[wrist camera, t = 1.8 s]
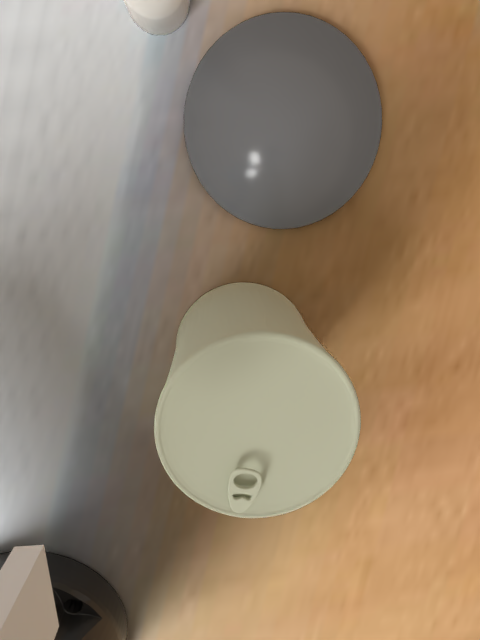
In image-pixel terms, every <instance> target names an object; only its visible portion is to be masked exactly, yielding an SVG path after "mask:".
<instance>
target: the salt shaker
mask: <svg viewBox="0 0 480 640" xmlns="http://www.w3.org/2000/svg"><path fill="white" fill-rule="evenodd" d="M123 1H124V3H125V5H126V7H127V10H128V12H129V14H130V16H131V18H132V19H133V21H134V22H135V23H136V24H137V26H139V27H140V28H141V29H142V30H144V31H145V32H147V33H150V34H153V35H167V34H170V33H172V32H174V31H176V30H177V29H178V28H179V27H180V26H181V25H182V24H183V22H184V21H185V19H186V17H187V14H188V11H189V5H190V0H123Z"/></svg>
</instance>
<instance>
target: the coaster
mask: <svg viewBox="0 0 480 640" xmlns="http://www.w3.org/2000/svg"><path fill="white" fill-rule="evenodd" d="M381 128H382V108H381V101H380V95H379V91H378V87H377V83H376V80H375V78H374V75H373V73H372V70H371V68H370V66H369V65H368V63H367V61H366V59H365V57H364V56H363V55H362V53H361V52H360V51H359V49H358V48H357V47H356V45H355V44H354V43H353V42H352V41H351V40H350V39H349V38H348V37H347V36H346V35H344V34H343V33H342V32H341V31H339V30H338V29H337V28H335V27H334V26H332V25H330V24H328V23H326V22H325V21H323V20H320V19H318V18H315V17H312V16H309V15H305V14H300V13H291V12H278V13H268V14H264V15H260V16H256V17H254V18H251V19H249V20H246V21H244V22H242V23H240V24H238V25H237V26H235V27H233V28H232V29H230V30H229V31H228V32H226V33H225V34H224V35H223V36H222V37H220V38H219V39H218V40H217V41H216V42H215V43H214V44H213V46H212V47H211V48H210V49H209V50H208V51H207V53H206V54H205V56H204V57H203V59H202V60H201V61H200V63H199V65H198V67H197V69H196V71H195V73H194V75H193V78H192V80H191V83H190V86H189V89H188V93H187V97H186V101H185V110H184V135H185V143H186V148H187V152H188V155H189V159H190V161H191V164H192V167H193V169H194V171H195V173H196V175H197V177H198V179H199V181H200V183H201V184H202V185H203V187H204V188H205V190H206V191H207V192H208V194H209V195H210V196H211V197H212V198H213V199H214V200H215V201H216V202H217V203H218V204H219V205H220V206H221V207H222V208H224V209H225V210H226V211H227V212H229V213H231V214H232V215H234V216H235V217H237V218H239V219H241V220H243V221H246V222H248V223H250V224H254V225H257V226H260V227H266V228H272V229H289V228H297V227H301V226H305V225H309V224H312V223H314V222H317V221H320V220H322V219H324V218H325V217H327V216H329V215H331V214H332V213H334V212H335V211H336V210H338V209H339V208H341V207H342V206H343V205H344V204H345V203H346V202H347V201H348V200H349V199H350V198H352V196H353V195H354V194H355V193H356V191H357V190H358V189H359V188H360V186H361V185H362V183H363V182H364V180H365V179H366V177H367V175H368V173H369V171H370V169H371V167H372V165H373V163H374V160H375V157H376V154H377V151H378V147H379V142H380V138H381Z"/></svg>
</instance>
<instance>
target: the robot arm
mask: <svg viewBox="0 0 480 640" xmlns="http://www.w3.org/2000/svg"><path fill="white" fill-rule="evenodd" d="M126 637H127V618H126V613H125V610H124V607H123V604H122V602H121V600H120V598H119V597H118V595H117V593H116V592H115V591H114V589H113V588H112V587H111V586H110V585H109V584H108V583H107V582H106V581H105V580H104V579H103V578H102V577H101V576H100V575H99V574H97V573H96V572H94V571H93V570H91V569H90V568H88V567H86V566H85V565H83V564H81V563H79V562H77V561H74V560H72V559H69V558H66V557H63V556H59V555H56V554H51V553H45V548H44V545H31V546H17V547H14V548H13V550H12V551H11V552H8V553H2V554H0V640H126Z"/></svg>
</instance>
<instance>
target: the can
mask: <svg viewBox="0 0 480 640" xmlns="http://www.w3.org/2000/svg"><path fill="white" fill-rule="evenodd" d="M360 427H361V416H360V407H359V401H358V397H357V394H356V391H355V388H354V386H353V384H352V382H351V380H350V378H349V377H348V375H347V373H346V372H345V370H344V369H343V368H342V366H341V365H340V364H339V363H338V362H337V361H336V360H335V359H334V358H333V357H332V356H331V355H330V354H329V353H328V352H327V351H326V350H325V349H324V347H323V346H322V345H321V344H320V343H319V341H318V340H317V339H316V338H315V336H314V335H313V334H312V333H311V331H310V330H309V329H308V327H307V326H306V325H305V323H304V320H303V318H302V316H301V315H300V313H299V311H298V310H297V308H296V307H295V306H294V305H293V304H292V303H291V301H290V300H288V299H287V298H286V297H285V296H284V295H282V294H281V293H279V292H278V291H276V290H274V289H272V288H270V287H267V286H264V285H261V284H256V283H248V282H239V283H231V284H226V285H223V286H220V287H217V288H215V289H213V290H211V291H209V292H207V293H206V294H204V295H203V296H201V297H200V298H199V299H198V300H197V301H196V302H195V303H194V304H193V305H192V306H191V307H190V308H189V309H188V311H187V312H186V314H185V315H184V317H183V319H182V321H181V324H180V326H179V329H178V333H177V338H176V350H175V354H174V357H173V361H172V365H171V368H170V371H169V375H168V378H167V381H166V384H165V386H164V388H163V390H162V392H161V395H160V397H159V400H158V403H157V407H156V412H155V419H154V437H155V444H156V449H157V452H158V455H159V458H160V460H161V463H162V465H163V467H164V469H165V471H166V472H167V474H168V475H169V477H170V478H171V480H172V481H173V482H174V484H175V485H176V486H177V487H178V488H179V489H180V490H181V491H182V492H183V493H185V494H186V495H187V496H188V497H189V498H191V499H192V500H194V501H195V502H197V503H198V504H200V505H202V506H204V507H206V508H208V509H210V510H212V511H215V512H218V513H222V514H225V515H229V516H233V517H240V518H266V517H272V516H278V515H282V514H285V513H289V512H292V511H294V510H297V509H299V508H301V507H303V506H305V505H307V504H309V503H311V502H313V501H314V500H316V499H317V498H319V497H320V496H321V495H323V494H324V493H325V492H326V491H328V490H329V489H330V488H331V487H332V486H333V485H334V484H335V483H336V482H337V481H338V479H339V478H340V477H341V476H342V474H343V473H344V472H345V470H346V469H347V467H348V465H349V463H350V461H351V459H352V457H353V455H354V453H355V450H356V447H357V444H358V440H359V435H360Z"/></svg>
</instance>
